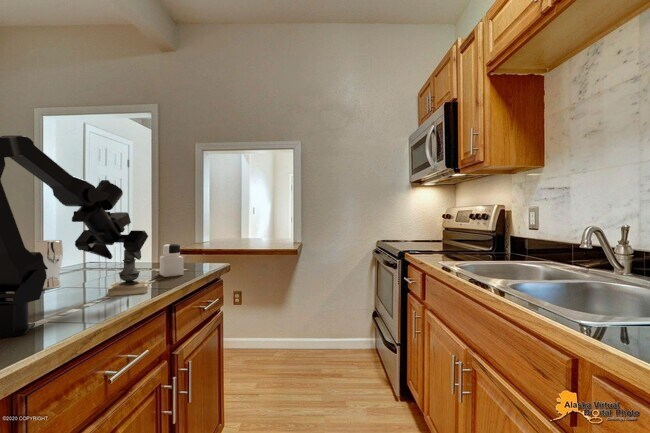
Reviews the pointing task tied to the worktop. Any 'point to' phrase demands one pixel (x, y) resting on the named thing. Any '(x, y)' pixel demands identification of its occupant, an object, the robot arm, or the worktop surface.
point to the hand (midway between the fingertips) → (125, 258)
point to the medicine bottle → (171, 261)
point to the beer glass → (51, 261)
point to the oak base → (128, 288)
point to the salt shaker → (129, 270)
